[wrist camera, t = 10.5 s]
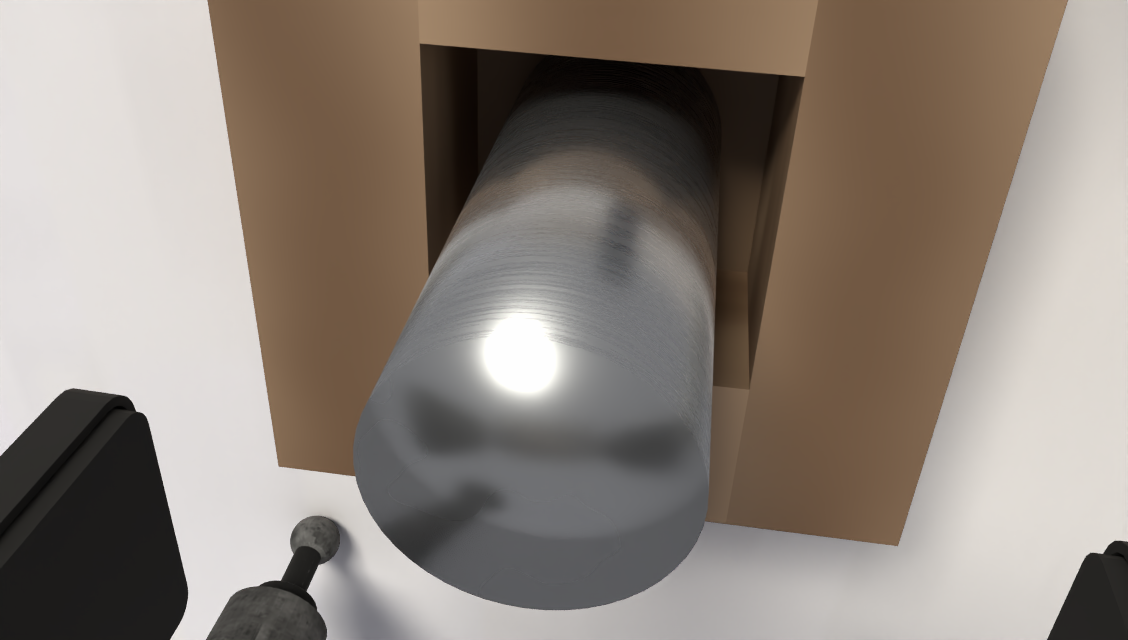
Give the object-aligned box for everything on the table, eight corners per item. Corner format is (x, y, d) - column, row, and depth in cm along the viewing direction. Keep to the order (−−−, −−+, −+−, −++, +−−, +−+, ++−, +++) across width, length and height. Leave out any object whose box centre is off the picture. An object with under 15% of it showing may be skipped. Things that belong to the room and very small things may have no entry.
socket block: (1021, -204, 17) (1116, -154, 12) (869, 386, 23) (897, 546, 19) (306, -247, 18) (174, -215, 14) (356, 327, 24) (278, 466, 20)
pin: (734, 40, 18) (730, 360, 10) (708, 235, 21) (688, 630, 12) (514, 22, 19) (338, 317, 10) (512, 216, 21) (365, 586, 13)
